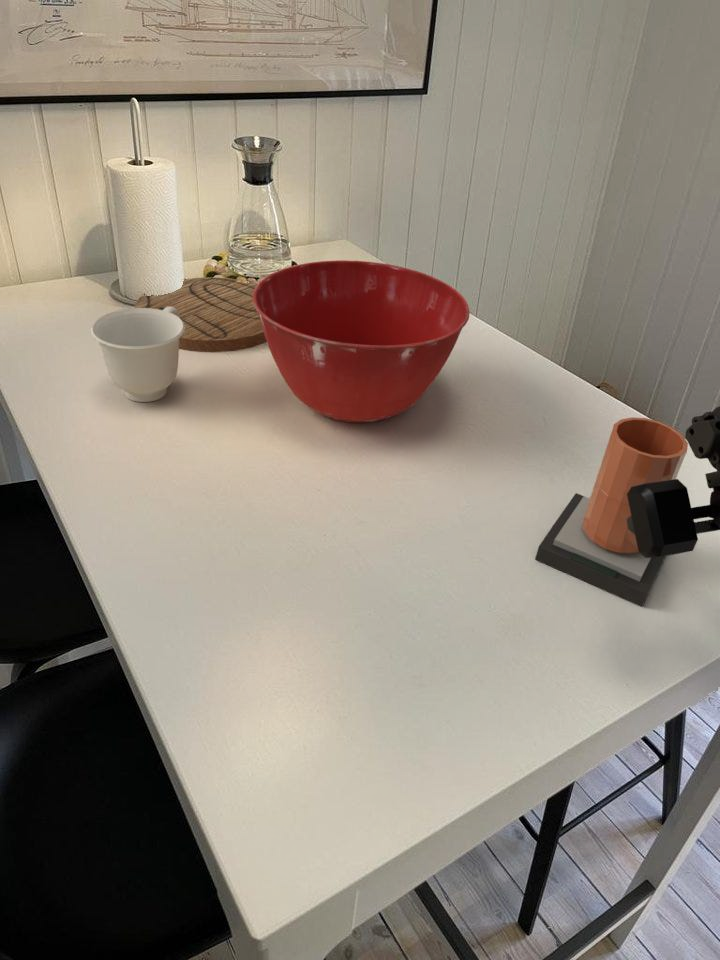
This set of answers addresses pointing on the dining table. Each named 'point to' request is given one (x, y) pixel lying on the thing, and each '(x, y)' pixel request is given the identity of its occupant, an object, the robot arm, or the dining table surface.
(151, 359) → the teacup
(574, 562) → the scale
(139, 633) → the dining table surface
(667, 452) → the orange faceted cup
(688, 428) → the robot arm
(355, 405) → the mixing bowl
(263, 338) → the trivet
